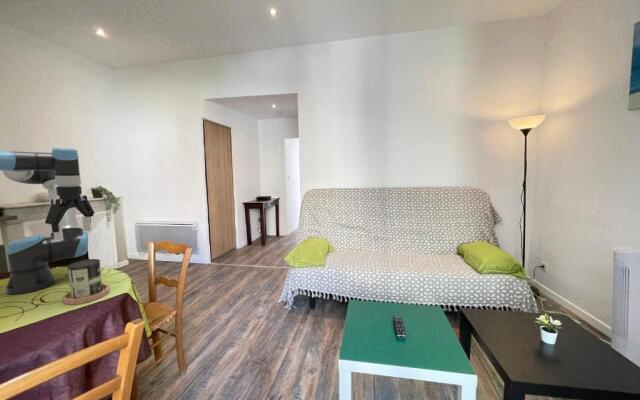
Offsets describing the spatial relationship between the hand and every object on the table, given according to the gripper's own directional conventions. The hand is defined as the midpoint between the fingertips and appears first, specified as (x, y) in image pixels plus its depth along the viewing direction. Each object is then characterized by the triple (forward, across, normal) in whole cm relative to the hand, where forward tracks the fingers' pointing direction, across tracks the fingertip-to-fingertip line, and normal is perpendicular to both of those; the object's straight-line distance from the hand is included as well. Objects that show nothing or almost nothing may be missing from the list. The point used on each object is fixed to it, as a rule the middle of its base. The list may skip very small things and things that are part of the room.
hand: (74, 235), depth 109 cm
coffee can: (+26, +3, +6) cm, 26 cm away
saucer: (+26, +4, +6) cm, 27 cm away
